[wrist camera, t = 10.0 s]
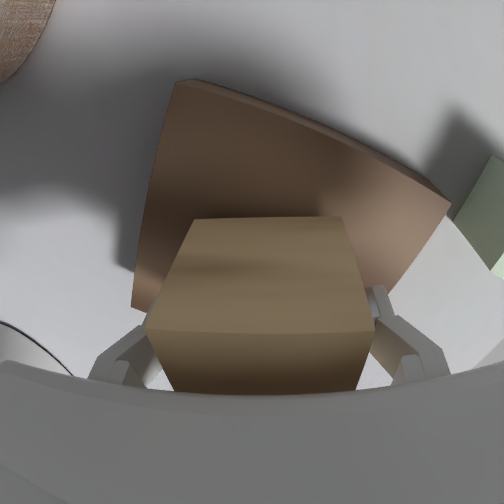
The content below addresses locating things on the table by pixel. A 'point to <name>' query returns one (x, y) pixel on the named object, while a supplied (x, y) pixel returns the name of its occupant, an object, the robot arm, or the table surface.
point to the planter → (20, 31)
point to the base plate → (276, 184)
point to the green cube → (486, 216)
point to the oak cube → (263, 309)
